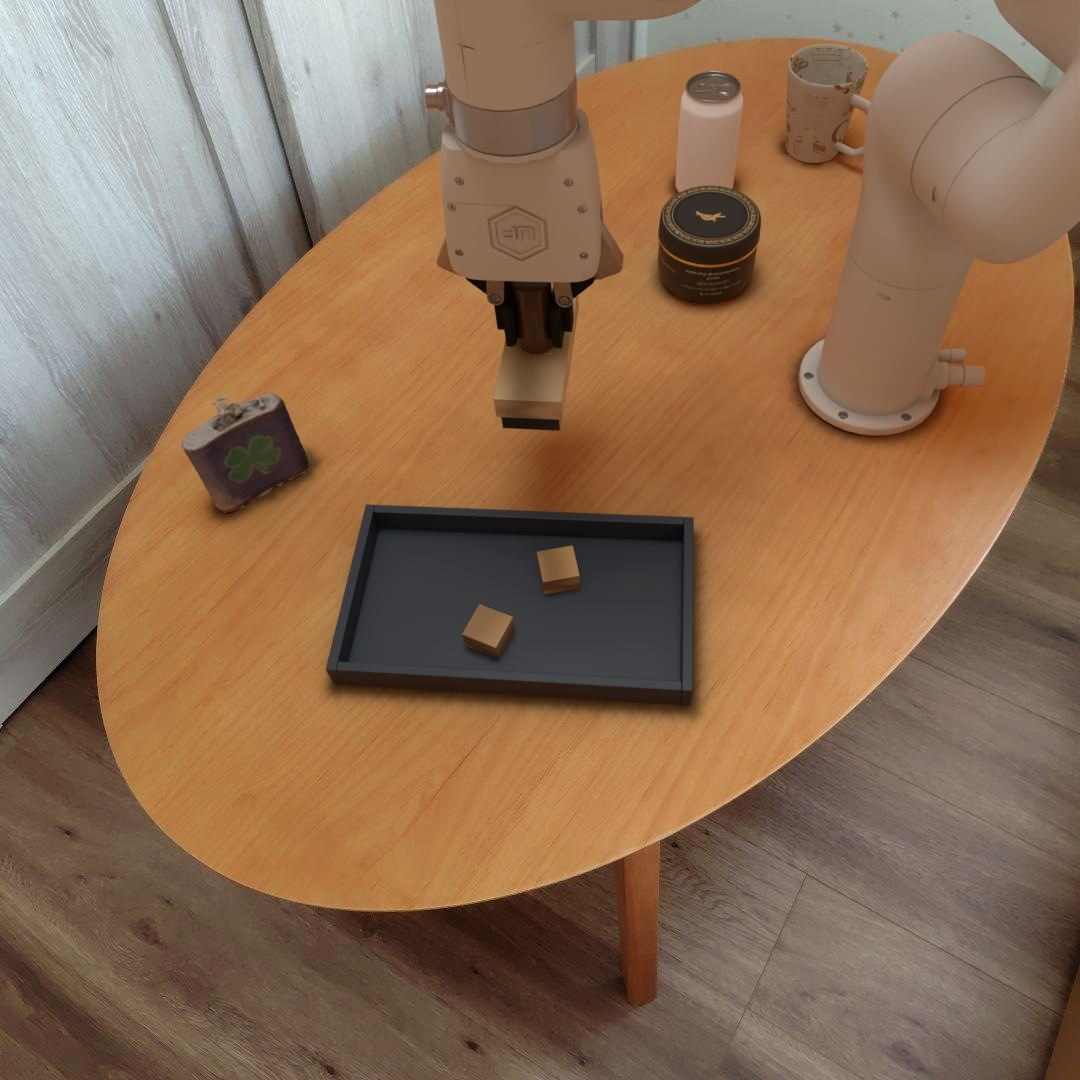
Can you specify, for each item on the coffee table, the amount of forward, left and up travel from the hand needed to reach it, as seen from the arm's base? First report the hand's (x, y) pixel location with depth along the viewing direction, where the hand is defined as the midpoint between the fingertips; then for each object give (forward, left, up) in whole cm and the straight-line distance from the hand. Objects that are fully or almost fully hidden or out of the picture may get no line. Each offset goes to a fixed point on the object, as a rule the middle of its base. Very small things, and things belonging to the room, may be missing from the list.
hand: (536, 332), depth 71 cm
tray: (+1, +14, -17) cm, 22 cm away
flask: (+26, +2, -17) cm, 31 cm away
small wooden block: (+3, +17, -16) cm, 24 cm away
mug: (-28, -48, -17) cm, 58 cm away
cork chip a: (-2, +11, -16) cm, 20 cm away
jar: (-14, -27, -17) cm, 35 cm away
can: (-14, -42, -17) cm, 47 cm away
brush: (0, 0, -4) cm, 4 cm away
